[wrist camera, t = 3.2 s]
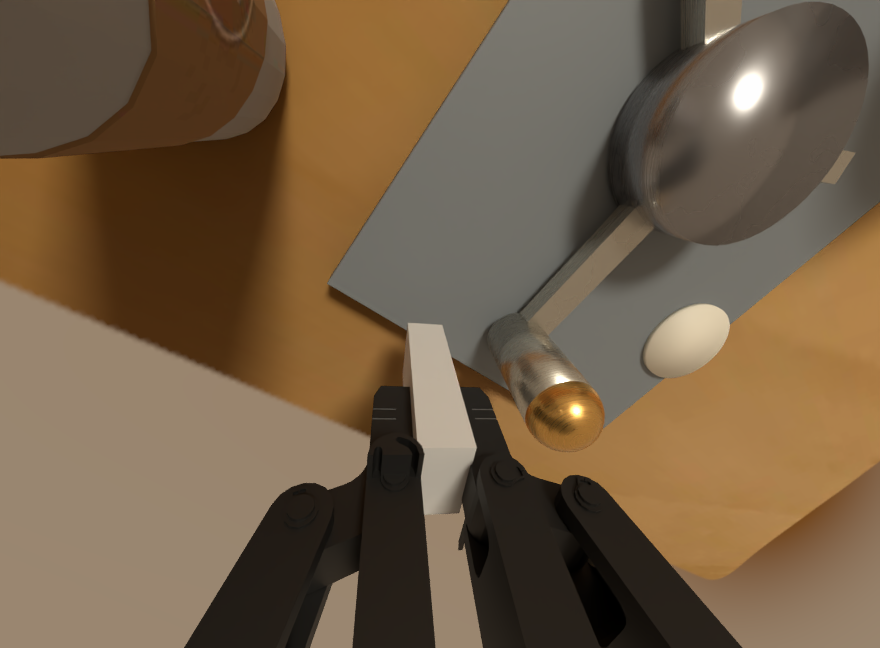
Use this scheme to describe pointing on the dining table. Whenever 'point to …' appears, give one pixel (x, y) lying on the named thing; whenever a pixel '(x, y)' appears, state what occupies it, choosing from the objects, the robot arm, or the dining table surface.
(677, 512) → the dining table surface
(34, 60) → the coffee cup
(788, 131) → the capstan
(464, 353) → the stand plate
